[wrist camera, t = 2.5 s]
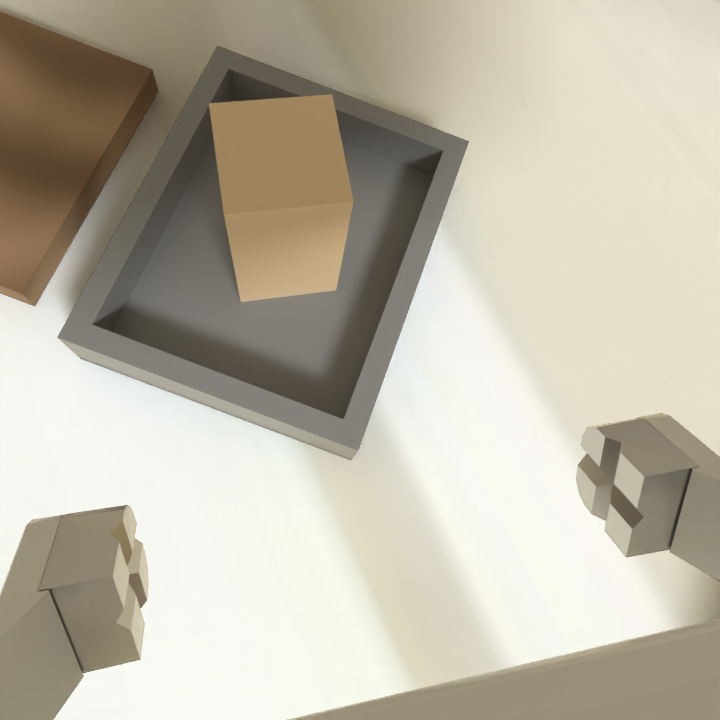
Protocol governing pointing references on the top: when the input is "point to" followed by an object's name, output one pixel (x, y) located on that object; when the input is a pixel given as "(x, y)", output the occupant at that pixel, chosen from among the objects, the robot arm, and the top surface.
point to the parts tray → (275, 315)
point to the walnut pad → (57, 143)
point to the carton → (283, 193)
